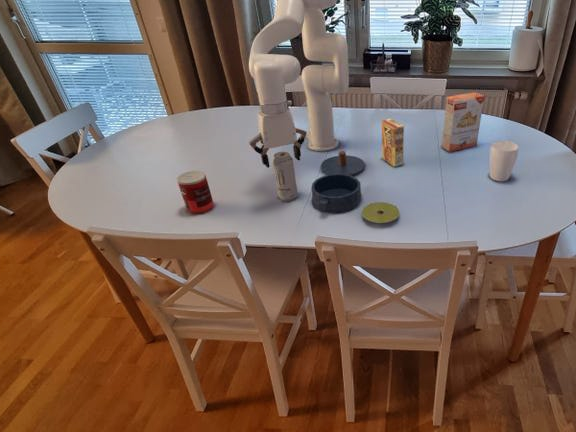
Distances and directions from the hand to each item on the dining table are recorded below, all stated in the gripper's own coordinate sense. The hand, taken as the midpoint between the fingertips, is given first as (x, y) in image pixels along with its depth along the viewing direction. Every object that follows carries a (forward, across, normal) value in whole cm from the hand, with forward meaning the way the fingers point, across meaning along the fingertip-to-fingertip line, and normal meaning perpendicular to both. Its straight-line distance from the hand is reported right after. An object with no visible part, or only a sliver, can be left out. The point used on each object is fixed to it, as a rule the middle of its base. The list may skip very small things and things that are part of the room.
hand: (282, 162), depth 120 cm
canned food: (+13, +25, -9) cm, 30 cm away
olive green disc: (+13, -20, +25) cm, 35 cm away
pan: (+13, -13, +10) cm, 21 cm away
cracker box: (+12, -74, -1) cm, 75 cm away
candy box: (+12, -43, -4) cm, 45 cm away
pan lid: (+12, -25, -10) cm, 29 cm away
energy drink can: (+13, 0, 0) cm, 13 cm away
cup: (+12, -69, +26) cm, 74 cm away
